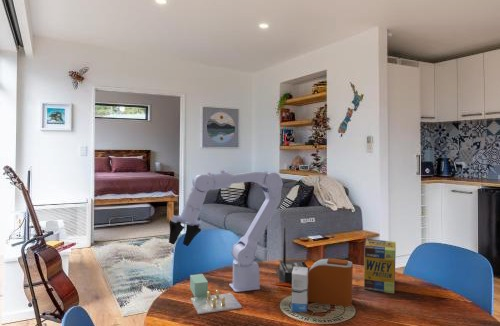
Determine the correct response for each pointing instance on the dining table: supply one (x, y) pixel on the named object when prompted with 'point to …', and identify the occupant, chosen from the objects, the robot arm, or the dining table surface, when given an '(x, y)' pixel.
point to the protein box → (379, 266)
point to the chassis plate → (205, 304)
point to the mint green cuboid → (198, 285)
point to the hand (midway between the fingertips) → (178, 244)
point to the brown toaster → (330, 282)
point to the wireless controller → (288, 266)
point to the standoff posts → (215, 299)
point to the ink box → (299, 289)
